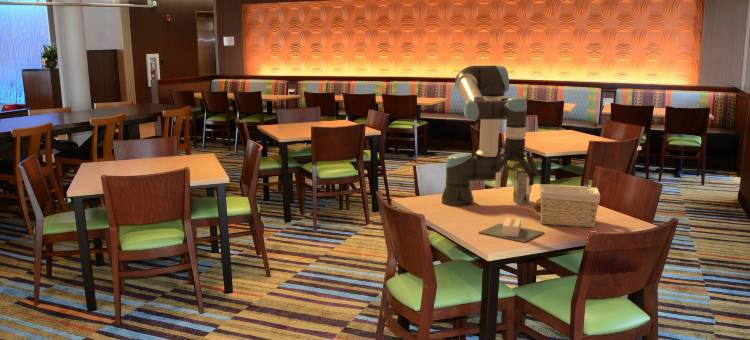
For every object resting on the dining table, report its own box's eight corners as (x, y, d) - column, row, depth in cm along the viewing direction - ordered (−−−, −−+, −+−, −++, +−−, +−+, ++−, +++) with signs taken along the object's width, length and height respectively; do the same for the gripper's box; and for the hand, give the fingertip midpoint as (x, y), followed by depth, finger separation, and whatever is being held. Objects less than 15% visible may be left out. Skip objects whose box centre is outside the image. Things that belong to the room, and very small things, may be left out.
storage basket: (595, 219, 282) (597, 186, 279) (598, 229, 266) (601, 194, 264) (537, 216, 287) (539, 183, 284) (538, 225, 272) (540, 191, 269)
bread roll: (539, 220, 293) (545, 206, 289) (527, 206, 301) (533, 192, 297) (557, 218, 297) (563, 204, 293) (545, 204, 305) (551, 191, 300)
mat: (478, 233, 260) (478, 231, 260) (499, 224, 273) (499, 223, 272) (524, 242, 247) (524, 241, 247) (544, 233, 260) (544, 231, 260)
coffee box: (512, 200, 317) (513, 167, 314) (525, 200, 317) (527, 167, 314) (516, 204, 308) (517, 171, 305) (529, 204, 308) (531, 171, 305)
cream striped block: (505, 227, 266) (506, 217, 265) (520, 228, 264) (521, 218, 264) (502, 235, 255) (502, 225, 254) (518, 236, 253) (518, 226, 252)
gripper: (482, 135, 260) (480, 187, 264) (540, 141, 244) (537, 197, 248) (492, 133, 265) (490, 184, 269) (549, 139, 250) (546, 193, 254)
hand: (512, 190), depth 259 cm, fingers open, 13 cm apart
